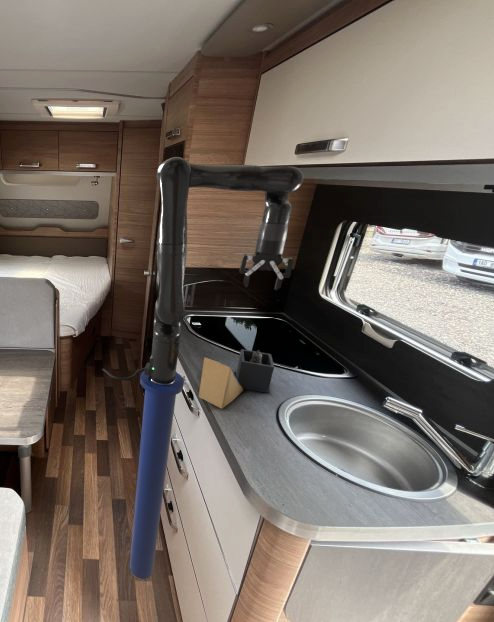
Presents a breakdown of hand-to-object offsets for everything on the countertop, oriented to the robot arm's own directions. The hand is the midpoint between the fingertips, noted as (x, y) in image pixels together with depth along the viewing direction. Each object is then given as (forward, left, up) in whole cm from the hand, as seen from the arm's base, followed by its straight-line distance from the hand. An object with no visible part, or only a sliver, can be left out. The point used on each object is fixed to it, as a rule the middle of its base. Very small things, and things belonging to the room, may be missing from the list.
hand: (260, 288), depth 109 cm
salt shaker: (+3, -2, -33) cm, 33 cm away
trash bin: (+3, -2, -34) cm, 34 cm away
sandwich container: (-6, -13, -34) cm, 37 cm away
